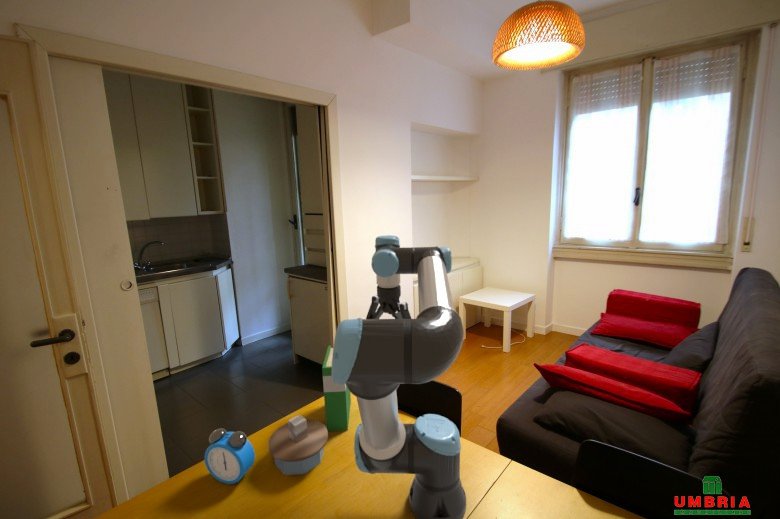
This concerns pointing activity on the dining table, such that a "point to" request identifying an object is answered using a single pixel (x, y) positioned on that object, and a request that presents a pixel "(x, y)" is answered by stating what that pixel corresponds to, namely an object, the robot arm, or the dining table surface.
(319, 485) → the dining table surface
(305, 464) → the bowl
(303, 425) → the lid
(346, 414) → the hardback book
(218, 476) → the alarm clock
